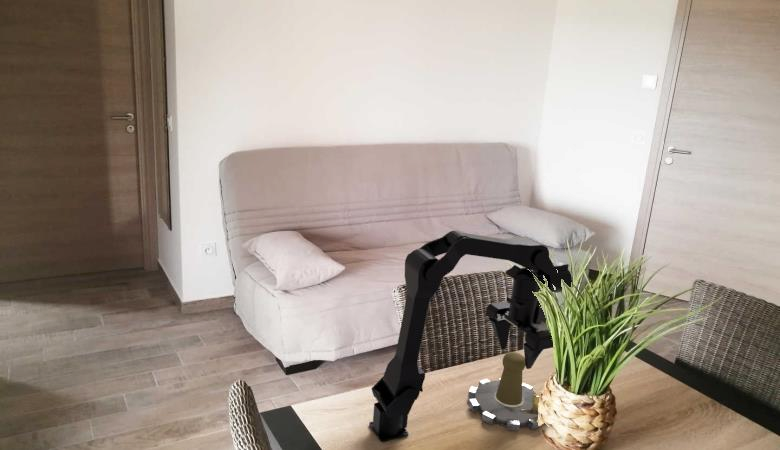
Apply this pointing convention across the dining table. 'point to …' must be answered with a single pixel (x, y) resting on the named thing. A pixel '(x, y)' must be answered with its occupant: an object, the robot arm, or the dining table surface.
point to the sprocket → (504, 406)
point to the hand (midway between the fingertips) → (515, 358)
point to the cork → (511, 379)
